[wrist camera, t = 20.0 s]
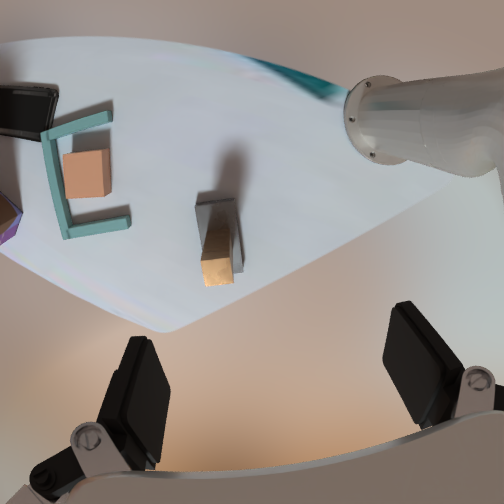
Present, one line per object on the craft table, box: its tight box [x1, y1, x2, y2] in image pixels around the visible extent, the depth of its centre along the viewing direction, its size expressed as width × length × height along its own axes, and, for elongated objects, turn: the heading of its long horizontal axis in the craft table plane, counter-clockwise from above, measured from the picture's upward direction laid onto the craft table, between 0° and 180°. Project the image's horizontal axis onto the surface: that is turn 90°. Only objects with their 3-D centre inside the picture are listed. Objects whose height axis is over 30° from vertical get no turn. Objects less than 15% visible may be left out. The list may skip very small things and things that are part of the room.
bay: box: [40, 111, 131, 240], centre depth 36 cm, size 11×16×2 cm
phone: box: [0, 85, 59, 142], centre depth 31 cm, size 8×1×15 cm
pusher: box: [195, 198, 244, 286], centre depth 36 cm, size 10×5×11 cm, turn 6°
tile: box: [63, 148, 112, 199], centre depth 35 cm, size 6×6×3 cm
